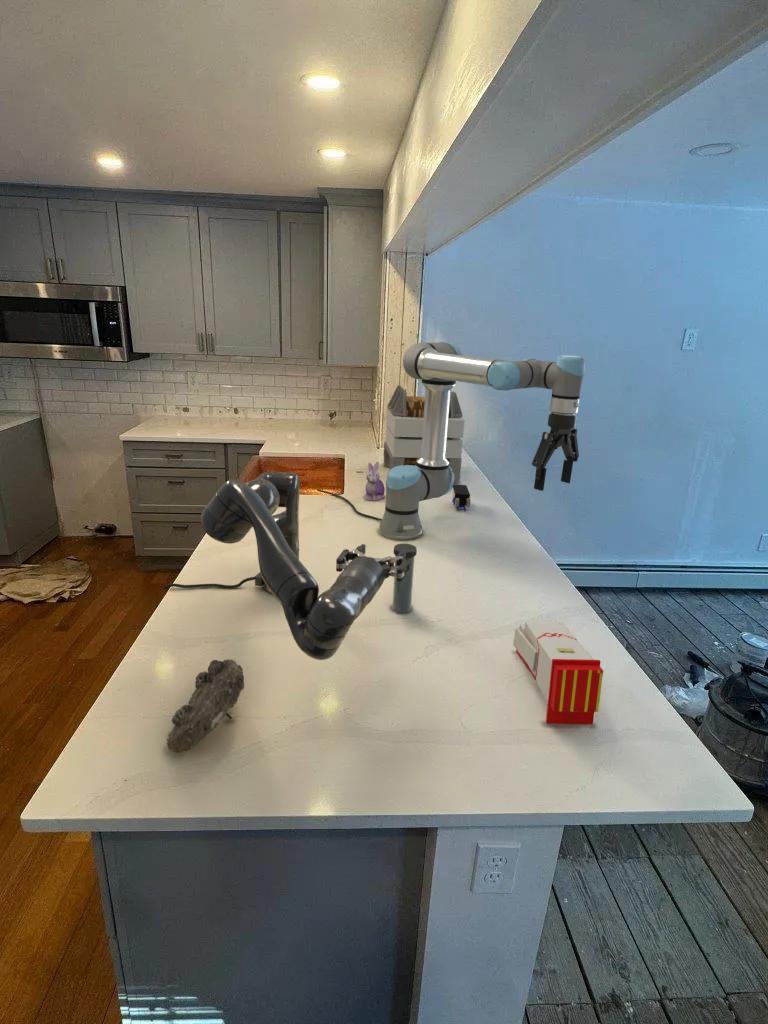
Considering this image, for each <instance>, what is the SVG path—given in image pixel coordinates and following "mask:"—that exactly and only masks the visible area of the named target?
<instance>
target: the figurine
mask: <svg viewBox="0 0 768 1024" xmlns="http://www.w3.org/2000/svg"><path fill="white" fill-rule="evenodd" d="M379 465H380V463H379V461H376V462H375V463H374V465H372V463H371V462H368V463H367V468H368V469H367V473H366V475H365V478H366V480H367V482H366V484H365V494H364V498H365V499H366V500H367V501H377V500H382V499H384V497H385V493H386V487H385V484H384V482H383V481H382V480H381V479H380V478H381V475H380V473H379V471H378V469H379Z"/></svg>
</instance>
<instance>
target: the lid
mask: <svg viewBox="0 0 768 1024" xmlns="http://www.w3.org/2000/svg"><path fill="white" fill-rule="evenodd" d="M400 550H404V553H406V558H412V557H416V556H417V554H418V553H417V551H418V550H417V546H415V545H413V544H411V543H397V544H395V545H393V555H394V556H395V555H396V556H397V555H398V553H399V552H400Z"/></svg>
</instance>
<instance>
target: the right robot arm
mask: <svg viewBox="0 0 768 1024" xmlns="http://www.w3.org/2000/svg"><path fill="white" fill-rule="evenodd" d="M585 365H586V360H585V358H584V357H582V356H578V355H566V354H565V355H564V354H563V355H558V356H557V357H556V360H555V361H549V360H541V359H536V358H524V359H521V360H506V359H505V360H504V359H503V360H502V359H496V358H487V357H479V356H471V355H464V354H463V352H462V350H461V349H460V347H459V346H457V345H456V344H455V343H451V342H445V341H443V342H442V341H441V342H440V341H439V342H438V341H437V342H417V343H414V344H412V345H411V346H409V347H408V348H407V350H406V351H405V353H404V355H403V358H402V366H403V369H404V372H405V373H406V374H407V375H408V376H409V377H411V378H412V379H415V380H421V385H422V386H423V387H424V389H425V392H424V397H425V404H424V419H423V434H422V449H421V457H420V458H418V459H417V461H416V466H413V465H401V466H396V467H394V468H392V469H390V468H389V470H388V472H387V474H386V479H385V504H384V505H385V507H384V508H385V509H384V513H383V515H382V518H380V517H378V516H377V517H376V516H373V515H370V514H366V513H362V512H360V511H358V510H357V508H356V507H355V505H354V504H353V503H352V502H351V501H350V500H349V499H347V498H345V497H343V496H342V495H339V494H337V493H334V492H331V491H327V490H322V489H319V488H317V489H316V491H317V492H320V493H324V494H328V495H331V496H334V497H337V498H340V499H341V500H343V501H345V502H346V503H348V504H349V505H350V507H351V508H352V509H353V511H354V512H355V513H356V514H357V515H360V516H362V517H366V518H369V519H373V520H377V521H379V527H378V533H379V534H380V535H381V536H382V537H385V538H387V539H389V540H395V541H410V540H415V539H418V538H420V537H421V536H422V535H423V525H422V524H421V518H420V515H419V507H420V506H419V505H420V502H423V501H427V500H431V499H437V498H440V497H443V496H446V495H448V493H450V492H451V490H452V489H453V484H455V483H454V473H452V469H451V467H450V466H449V462H448V461H447V459H446V458H445V453H446V441H447V428H448V416H449V404H450V392H451V391H452V389H453V388H454V387H455V386H456V384H457V382H461V383H465V384H473V385H479V386H487V387H491V388H492V389H494V390H496V391H503V392H504V391H511V390H520V389H532V388H533V389H534V388H539V389H546V390H551V398H550V404H549V413H548V418H547V419H548V420H547V426H548V427H549V428H550V431H549V432H548V431H543V432H542V435H541V440H540V442H539V445H538V447H537V449H536V452H535V454H534V457H533V460H532V461H531V466H533V467H535V475H534V477H535V478H534V485H533V489H534V490H537V491H539V492H543V491H544V489H545V484H546V483H545V482H546V476H547V468H546V466H547V465H548V463H549V461H550V459H551V457H552V456H553V454H554V453H555V451H556V450H557V449H558V448H560V447H561V449H562V452H563V455H564V458H565V459H563V463H562V468H561V469H562V470H561V475H560V482H562V483H566V484H571V478H572V472H573V466H574V463H576V462H578V461H579V457H580V453H579V444H578V428H576V423H577V419H578V416H577V414H578V412H579V411H578V410H579V406H580V397H581V391H582V385H583V380H584V376H585Z"/></svg>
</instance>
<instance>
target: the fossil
mask: <svg viewBox="0 0 768 1024" xmlns="http://www.w3.org/2000/svg"><path fill="white" fill-rule="evenodd" d="M243 670H244V669H243V667H242V665H240V664H237V662H236V661H235V660H234V659H232V658H231V659H227V658H226V659H224V660H223V661H222V660H217V659H212V660H211V661H210V663H209V665H208V666H207V671H201V672H199V673H198V674H197V675H196V676H195V680H194V684H195V685H194V687H195V689H194V690H193V693H192V694H191V697H190V698H189V700H188V704H184V705H182V706H181V707H180V709H177V710H176V711H175V713H174V715H173V716H172V718H171V723H172V724H173V727H172V730H171V731H170V732H168V734H167V738H166V741H167V742H166V745H167V749H168V750H169V751H173V752H174V753H176V754H178V753H182V752H188V751H189V752H192V751H193V750H195V748H196V747H197V746H199V744H200V743H201V742H203V741H204V740H205V739H206V738H207V737H208V736H209V735H210V734H211V733H212V732H214V730H215V729H217V727H218V726H219V724H220V722H221V721H222V720H223V719H224V718H225V716H226V717H227V719H229V720H233V717H232V715H230V714H229V710H230V709H231V708H234V706H235V704H236V703H237V702H238V699H239V697H240V695H241V693H242V691H243V690H245V689H244V688H245V675H244V671H243Z"/></svg>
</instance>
